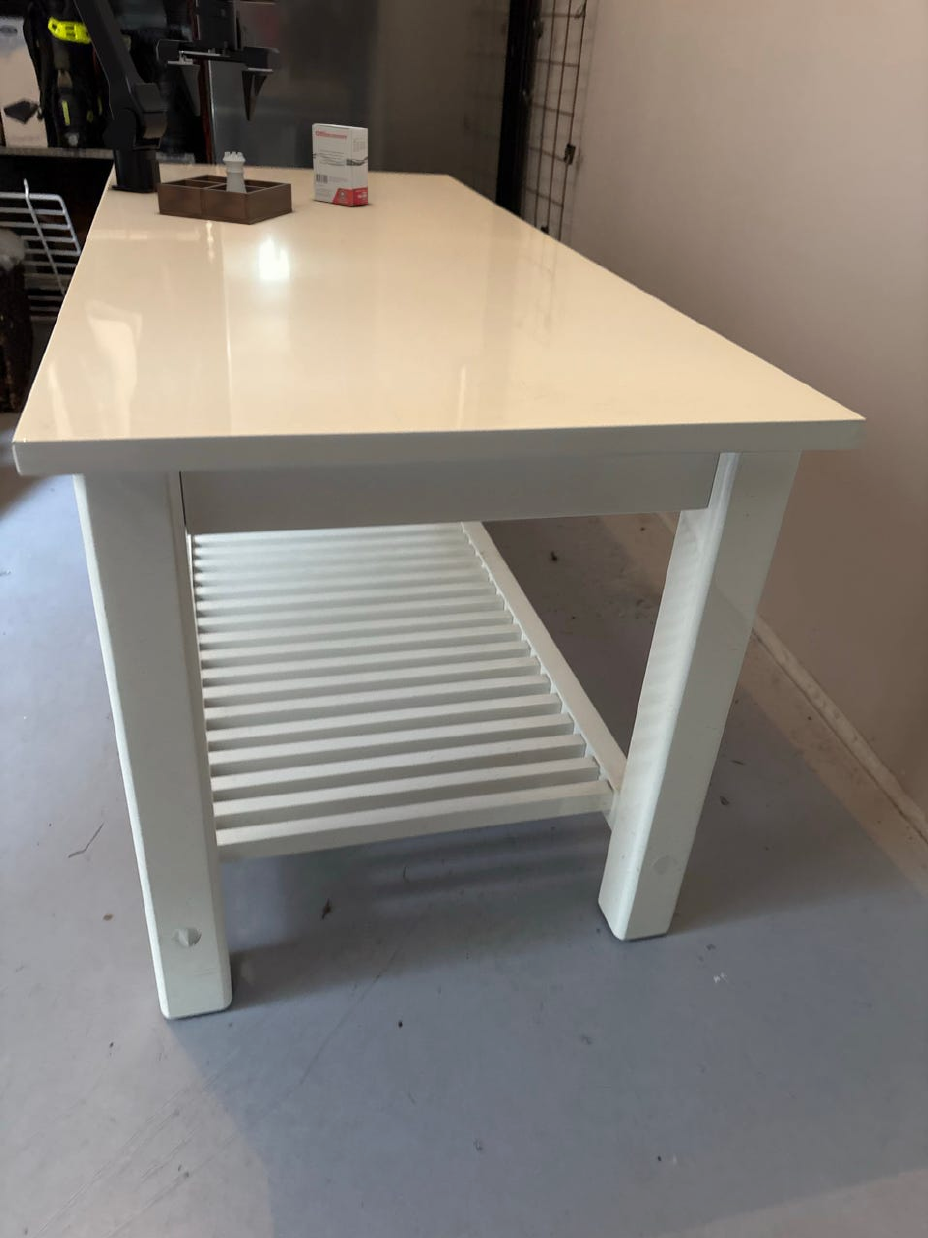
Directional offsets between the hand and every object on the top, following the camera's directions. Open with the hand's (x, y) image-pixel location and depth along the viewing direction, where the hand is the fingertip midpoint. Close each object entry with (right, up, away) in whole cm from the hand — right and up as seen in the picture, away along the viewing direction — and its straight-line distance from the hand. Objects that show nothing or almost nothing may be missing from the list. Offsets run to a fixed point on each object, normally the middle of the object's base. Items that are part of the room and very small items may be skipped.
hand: (223, 118), depth 144 cm
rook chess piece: (+4, -19, -8) cm, 21 cm away
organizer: (+2, -17, -4) cm, 18 cm away
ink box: (+17, -8, +12) cm, 22 cm away
